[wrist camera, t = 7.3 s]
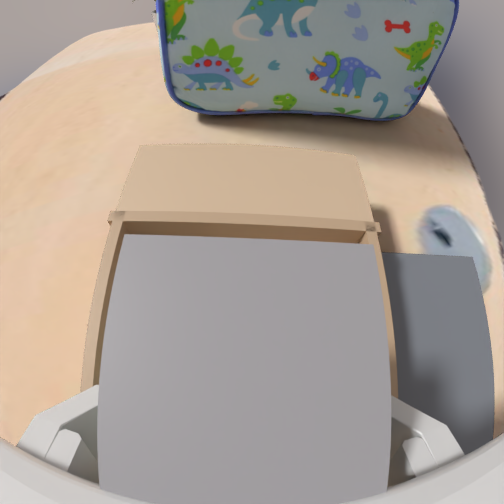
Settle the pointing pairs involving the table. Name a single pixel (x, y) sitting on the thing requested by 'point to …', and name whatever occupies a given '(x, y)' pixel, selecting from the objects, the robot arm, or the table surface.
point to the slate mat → (443, 343)
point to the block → (244, 373)
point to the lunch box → (302, 54)
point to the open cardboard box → (236, 211)
